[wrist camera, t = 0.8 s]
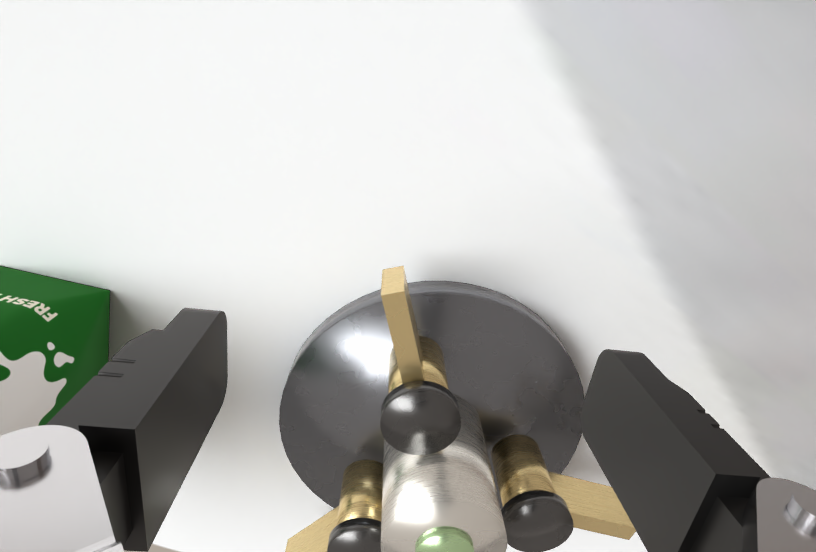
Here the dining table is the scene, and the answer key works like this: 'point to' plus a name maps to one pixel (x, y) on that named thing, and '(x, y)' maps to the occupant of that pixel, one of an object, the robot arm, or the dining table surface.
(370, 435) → the base
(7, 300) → the milk carton
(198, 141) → the dining table surface
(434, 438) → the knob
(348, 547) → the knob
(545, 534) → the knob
